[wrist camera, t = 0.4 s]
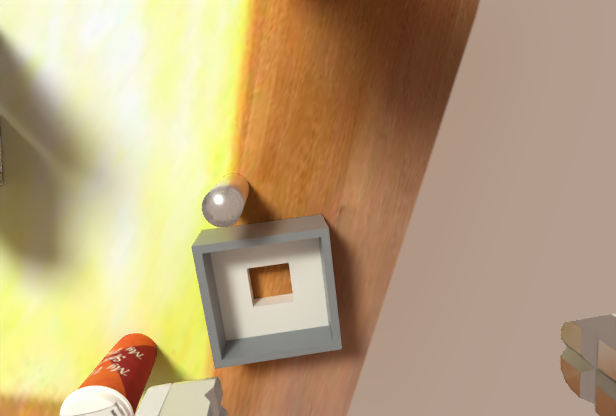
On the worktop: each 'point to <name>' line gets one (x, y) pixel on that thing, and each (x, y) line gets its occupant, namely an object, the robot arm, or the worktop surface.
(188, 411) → the robot arm
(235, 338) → the box
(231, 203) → the peg
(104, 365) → the paper cup
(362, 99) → the worktop surface
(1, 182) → the coffee box
